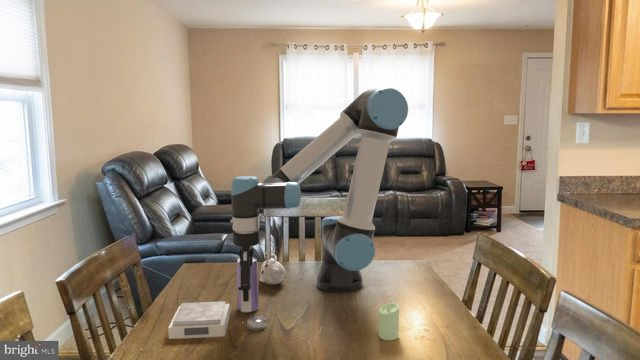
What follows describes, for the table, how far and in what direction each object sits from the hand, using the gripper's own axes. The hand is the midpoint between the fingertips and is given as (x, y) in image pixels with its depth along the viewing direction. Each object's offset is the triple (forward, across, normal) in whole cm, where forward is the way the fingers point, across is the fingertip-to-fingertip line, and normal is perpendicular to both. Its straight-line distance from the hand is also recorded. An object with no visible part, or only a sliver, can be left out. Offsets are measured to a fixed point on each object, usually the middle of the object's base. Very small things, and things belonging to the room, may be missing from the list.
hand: (248, 301), depth 140 cm
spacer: (+2, +12, +3) cm, 13 cm away
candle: (+2, +21, +37) cm, 42 cm away
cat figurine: (+2, -22, +7) cm, 23 cm away
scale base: (+2, +10, -12) cm, 16 cm away
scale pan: (-1, +10, -12) cm, 16 cm away
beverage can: (+2, 0, 0) cm, 2 cm away
